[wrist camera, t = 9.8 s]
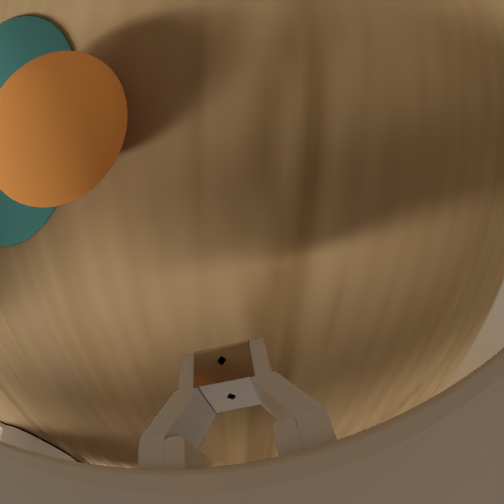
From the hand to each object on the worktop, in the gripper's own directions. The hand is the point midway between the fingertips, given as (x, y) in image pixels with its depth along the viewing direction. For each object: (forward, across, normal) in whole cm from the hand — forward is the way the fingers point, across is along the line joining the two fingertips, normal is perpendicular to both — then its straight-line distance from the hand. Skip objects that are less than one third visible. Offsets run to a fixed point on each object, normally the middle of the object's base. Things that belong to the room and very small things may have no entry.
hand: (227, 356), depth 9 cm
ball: (+2, +4, -9) cm, 10 cm away
